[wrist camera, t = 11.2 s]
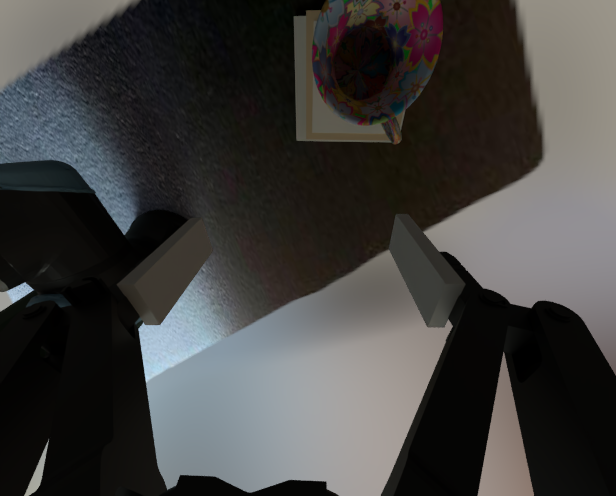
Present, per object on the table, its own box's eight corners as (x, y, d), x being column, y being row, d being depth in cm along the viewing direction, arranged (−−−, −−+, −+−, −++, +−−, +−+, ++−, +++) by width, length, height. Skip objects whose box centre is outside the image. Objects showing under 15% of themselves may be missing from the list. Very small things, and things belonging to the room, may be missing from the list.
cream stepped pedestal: (297, 139, 36) (291, 147, 30) (294, 19, 28) (286, -4, 22) (396, 141, 35) (410, 149, 29) (422, 17, 27) (450, -8, 21)
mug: (301, 52, 24) (287, 24, 15) (382, -14, 21) (423, -98, 12) (347, 152, 30) (356, 174, 21) (417, 112, 26) (463, 116, 18)
